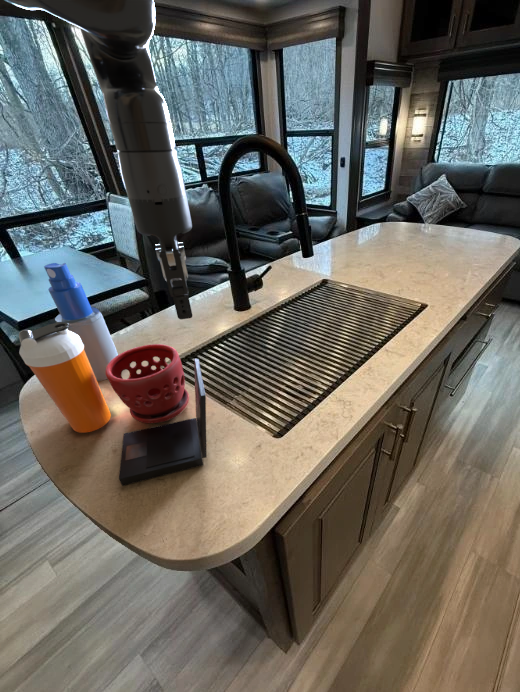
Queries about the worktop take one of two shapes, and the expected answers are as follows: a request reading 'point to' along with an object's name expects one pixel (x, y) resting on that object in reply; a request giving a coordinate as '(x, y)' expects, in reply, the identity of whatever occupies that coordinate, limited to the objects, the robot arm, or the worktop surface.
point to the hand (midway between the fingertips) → (184, 307)
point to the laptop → (160, 451)
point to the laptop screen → (200, 407)
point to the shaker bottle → (65, 375)
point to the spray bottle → (81, 318)
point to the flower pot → (150, 383)
